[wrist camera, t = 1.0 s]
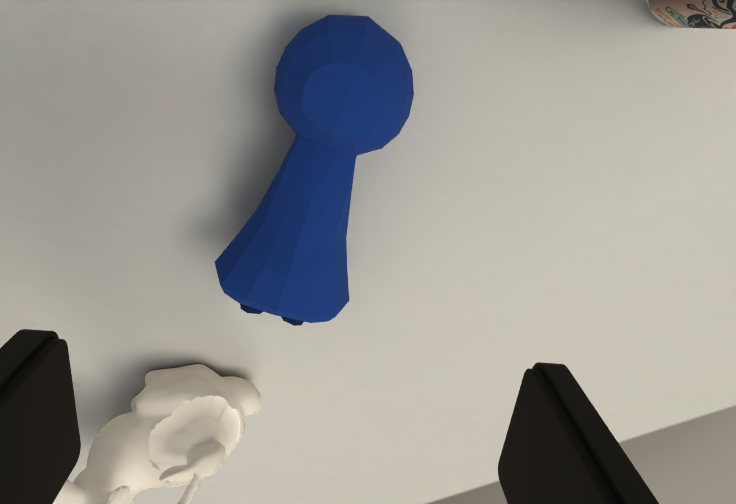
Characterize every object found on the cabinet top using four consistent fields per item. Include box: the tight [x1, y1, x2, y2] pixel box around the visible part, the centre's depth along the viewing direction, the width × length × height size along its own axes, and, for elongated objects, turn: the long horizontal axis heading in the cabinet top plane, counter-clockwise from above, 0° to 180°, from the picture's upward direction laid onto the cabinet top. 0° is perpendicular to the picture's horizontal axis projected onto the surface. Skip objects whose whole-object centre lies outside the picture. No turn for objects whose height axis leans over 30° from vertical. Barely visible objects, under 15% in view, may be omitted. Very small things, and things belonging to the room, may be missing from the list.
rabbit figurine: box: [53, 364, 261, 504], centre depth 27 cm, size 12×8×10 cm, turn 107°
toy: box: [215, 15, 414, 326], centre depth 24 cm, size 7×6×15 cm
